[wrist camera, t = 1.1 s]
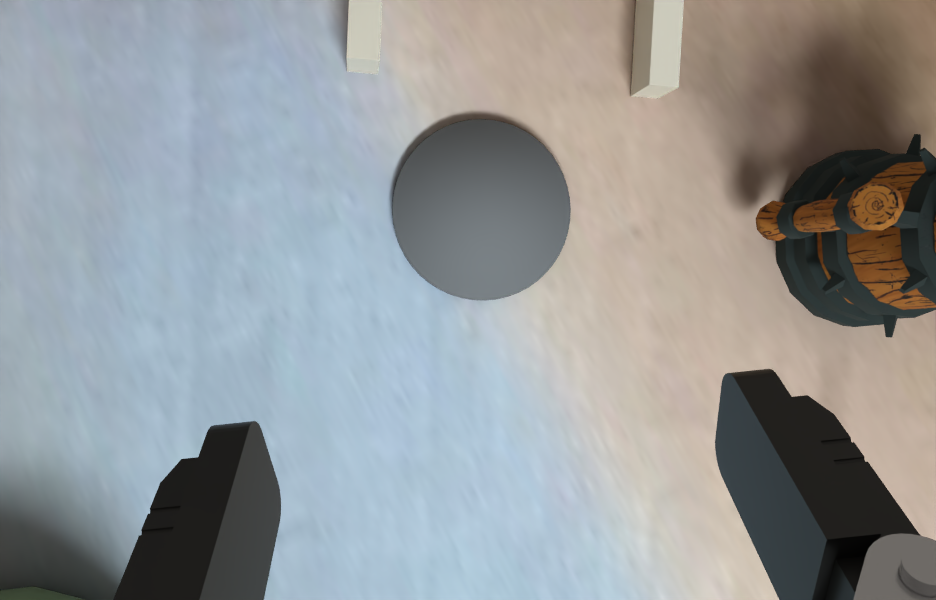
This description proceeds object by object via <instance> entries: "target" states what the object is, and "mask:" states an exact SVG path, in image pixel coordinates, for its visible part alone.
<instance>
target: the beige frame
mask: <svg viewBox="0 0 936 600" xmlns="http://www.w3.org/2000/svg"><path fill="white" fill-rule="evenodd" d="M683 5H684V0H636V9H635V27H634V45H633V63H632V81H631V96H633V97H645V98H656V99H658V98H660V97H662V96H664V95H666V94H668V93H669V92H671V91H673V90H675V89H677V88H679V74H680V56H681V39H682V22H683ZM381 18H382V0H349V10H348V35H347V72H357V73H368V74H378V70H379V62H380V42H381Z"/></svg>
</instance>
